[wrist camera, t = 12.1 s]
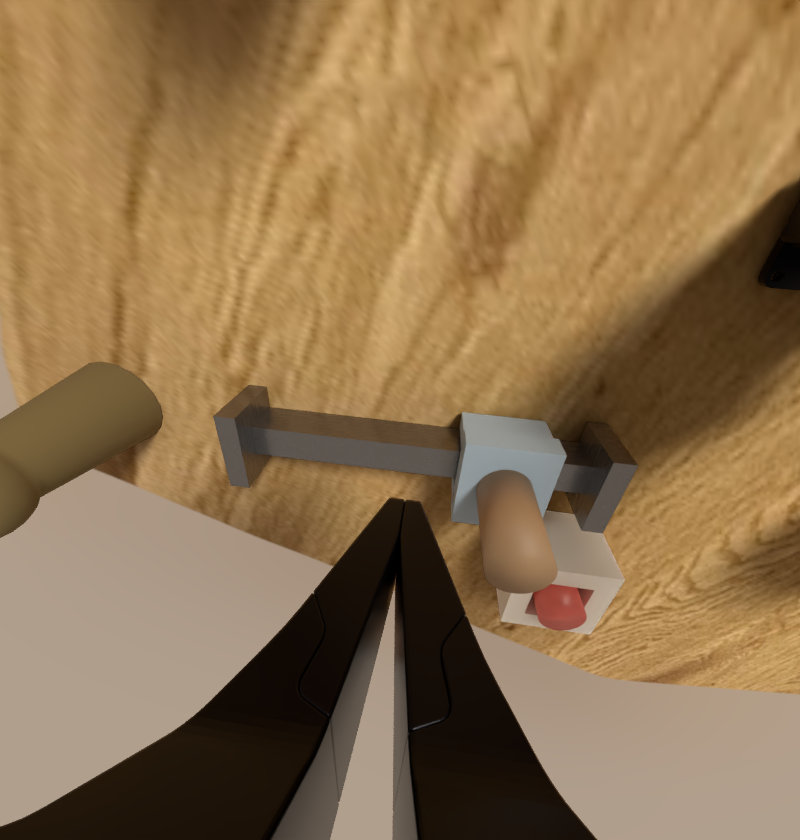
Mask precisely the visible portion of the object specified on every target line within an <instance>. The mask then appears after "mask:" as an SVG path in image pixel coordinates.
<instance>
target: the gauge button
mask: <svg viewBox="0 0 800 840" xmlns="http://www.w3.org/2000/svg"><path fill="white" fill-rule="evenodd" d="M533 597H534V602H535V606H536V611H537V616H538V620H539V622H540V623H541V624H542V625H543V626H545V627H547V628H549V629H553V630H571V629H575V628H577V627H579V626H581V625H583V624H584V623H585V621H586V619H587V615H586V612H585V609H584V606H583V603H582V600H581V597H580V594H579V591H578V588H575V587H568V586H561V585H554V584H550V585H549V586H548V587H546V588H544V589H542V590H540V591H536V592H533Z"/></svg>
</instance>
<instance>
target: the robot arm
mask: <svg viewBox="0 0 800 840" xmlns="http://www.w3.org/2000/svg"><path fill="white" fill-rule="evenodd" d="M776 271H778V274H777V276H776V277H775V278H774V279H772V280H771V277H772V275H773V274H774V273H775V272H776ZM758 283H759V284H760V285H762V286H765V287H770V288H779V289H791V290H800V201H799V203H798V205H797V206H796V208H795V210H794V212H793V214H792V215H791V217H790V219H789V221H788V223H787V224H786V226H785V228H784V230H783V232H782V233H781V236H780V238H779V239H778V241H777V243H776V245H775V247H774V248H773V250H772V252H771V254H770V256H769V257H768V259H767V261H766V263H765V265H764V266H763V268H762V270H761V272H760V274H759V276H758ZM395 579H396V584H395ZM394 585H395V654H394V655H395V656H394V657H395V658H394V755H393V756H394V757H393V758H394V759H393V763H394V764H393V840H597V839H596V838H595V837H594V835H593V834H592V833H591V832H590V831H589V829H588V828H587V827H586V826H585V825H584V823H583V822H582V821H581V820H580V819H579V817H578V816H577V815H576V814H575V813H574V812H573V811H572V809H571V808H570V807H569V805H568V804H567V803H566V802H565V800H564V799H563V798H562V796H561V795H560V794H559V792H558V791H557V789H556V788H555V786H554V785H553V783H552V782H551V780H550V779H549V777H548V776H547V774H546V772H545V771H544V769H543V767H542V765H541V764H540V762H539V760H538V758H537V757H536V755H535V753H534V751H533V749H532V747H531V745H530V743H529V742H528V740H527V738H526V736H525V734H524V732H523V730H522V728H521V727H520V725H519V723H518V721H517V719H516V717H515V715H514V714H513V712H512V710H511V708H510V706H509V704H508V702H507V701H506V699H505V697H504V695H503V693H502V691H501V689H500V687H499V685H498V684H497V682H496V680H495V678H494V676H493V674H492V672H491V670H490V668H489V666H488V664H487V662H486V660H485V658H484V655H483V653H482V651H481V649H480V646H479V644H478V642H477V639H476V637H475V635H474V632H473V630H472V627H471V625H470V623H469V620H468V618H467V617H466V616H465V615H466V613H465V611H464V608H463V606H462V603H461V601H460V598H459V596H458V593H457V591H456V588H455V586H454V583H453V581H452V578H451V576H450V573H449V571H448V568H447V566H446V563H445V561H444V558H443V556H442V553H441V551H440V548H439V546H438V543H437V541H436V538H435V536H434V533H433V531H432V528H431V526H430V523H429V521H428V518H427V516H426V513H425V511H424V508H423V506H422V504H421V502H420V501H414V500H406V501H404V500H403V499H398V498H389V499H388V500H387V501H386V503H385V504H384V505H383V506H382V508H381V509H380V510H379V511H378V512H377V514H376V515H375V516H374V517H373V519H372V520H371V521H370V522H369V524H368V525H367V526H366V527H365V529H364V530H363V531H362V532H361V533H360V535H359V536H358V537H357V538H356V540H355V541H354V542H353V543H352V545H351V546H350V547H349V548H348V550H347V551H346V552H345V553H344V554H343V556H342V557H341V558H340V559H339V561H338V562H337V563H336V564H335V566H334V567H333V568H332V569H331V571H330V572H329V573H328V574H327V576H326V577H325V578H324V579H323V580H322V582H321V583H320V584H319V585H318V587H317V588H316V589H315V590H314V594H311V595H310V596H309V598H308V599H307V600H306V601H305V602H304V604H303V605H302V606H301V608H300V609H299V610H298V611H297V612H296V613H295V614H294V615H293V617H292V618H291V619H290V620H289V621H288V623H287V624H286V625H285V626H284V627H283V628H282V629H281V630H280V631H279V632H278V633H277V634H276V635H275V636H274V637H273V639H272V640H271V641H270V642H269V643H268V644H267V645H266V646H265V647H264V648H263V649H262V650H261V651H260V652H259V653H258V654H257V655H256V656H255V657H254V658H253V659H252V660H251V661H250V662H249V663H248V664H247V665H246V666H245V667H244V668H243V669H242V670H241V671H240V672H239V673H238V674H237V675H236V676H235V677H234V678H233V679H232V680H231V681H230V682H229V683H228V684H227V685H226V686H225V687H224V688H223V689H222V690H221V691H220V692H219V693H218V694H217V695H216V696H215V697H214V698H213V699H212V700H211V701H210V702H209V703H208V704H206V705H205V707H204V708H202V709H201V710H200V711H199V712H198V713H196V714H195V715H194V716H193V717H192V718H190V719H189V720H188V721H186V722H185V723H184V724H183V725H181V726H180V727H178V728H177V729H175V730H174V731H172V732H171V733H169V734H168V735H166V736H164V737H163V738H161V739H159V740H158V741H156V742H154V743H153V744H151V745H149V746H147V747H146V748H144V749H142V750H141V751H139V752H137V753H135V754H134V755H132V756H130V757H129V758H127V759H125V760H123V761H122V762H120V763H118V764H117V765H115V766H113V767H112V768H110V769H108V770H107V771H105V772H103V773H101V774H100V775H98V776H96V777H95V778H93V779H91V780H89V781H88V782H86V783H84V784H83V785H81V786H79V787H78V788H76V789H74V790H72V791H71V792H69V793H67V794H66V795H64V796H62V797H61V798H59V799H57V800H56V801H54V802H52V803H50V804H49V805H47V806H45V807H43V808H41V809H40V810H38V811H36V812H34V813H32V814H30V815H28V816H26V817H24V818H22V819H19V820H17V821H14V822H12V823H9V824H7V825H4V826H1V827H0V840H330V837H331V833H332V829H333V825H334V821H335V817H336V814H337V810H338V805H339V804H338V802H339V801H340V797H341V794H342V790H343V786H344V782H345V778H346V774H347V770H348V766H349V762H350V758H351V754H352V751H353V746H354V743H355V739H356V735H357V731H358V727H359V723H360V719H361V715H362V711H363V707H364V703H365V699H366V696H367V692H368V688H369V684H370V679H371V676H372V672H373V668H374V664H375V660H376V656H377V652H378V648H379V644H380V641H381V637H382V633H383V629H384V625H385V621H386V617H387V613H388V609H389V605H390V601H391V598H392V594H393V589H394Z"/></svg>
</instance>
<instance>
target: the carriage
mask: <svg viewBox="0 0 800 840" xmlns="http://www.w3.org/2000/svg"><path fill="white" fill-rule="evenodd" d="M460 438H461V452H460V458H459V463H458V468H457V474H456V478H452V501H451V521H453V522H460V523H468V524H475V525H479V528H480V538H481V548H482V558H483V568H484V575H485V578H486V580H487V581H488V582H489V583H490V584H491V585H492V586H494V587H495V588H497V589H499V590H502V591H505V592H508V593H515V594H526V593H532V592H536V591H540V590H542V589H544V588H546V587H548V586H549V585H550V584H551V583H553V581H554V580H555V579H556V577H557V573H558V568H557V565H556V561H555V558H554V555H553V552H552V548H551V545H550V542H549V539H548V535H547V532H546V529H545V525H544V522H543V516H544V514H545V511H546V509H547V506H548V503H549V501H550V498H551V496H552V493H553V490H554V488H555V485H556V483H557V480H558V477H559V475H560V472H561V470H562V467H563V464H564V462H565V459H566V457H567V455H566V453H565V451H564V449H563V447H562V445H561V443H560V440H559V439H555V438H553V436H552V434H551V432H550V430H549V427H548V425H547V423H546V421H539V420H530V419H521V418H511V417H502V416H493V415H484V414H475V413H466V412H462V416H461V422H460Z"/></svg>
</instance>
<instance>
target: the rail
mask: <svg viewBox="0 0 800 840" xmlns="http://www.w3.org/2000/svg"><path fill="white" fill-rule="evenodd" d="M213 417H214V421H215V425H216V429H217V433H218V437H219V441H220V445H221V449H222V453H223V457H224V461H225V464H226V468H227V472H228V476H229V480H230V484H231V485H233V486H240V487H248V488H249V487H250V486H251V485H252V483H253V482H254V480H255V479H256V478H257V476H258V475H259V473H260V472H261V471H262V469H263V468H264V466H265V465H266V464H267V462H268V461H269V459H270V458H271V457H272V456H279V457H287V458H295V459H303V460H311V461H319V462H328V463H336V464H344V465H352V466H360V467H368V468H376V469H385V470H393V471H401V472H409V473H417V474H425V475H433V476H441V477H450V478H456V474H457V468H458V463H459V458H460V452H461V438H460V429H457V428H448V427H439V426H431V425H422V424H413V423H404V422H395V421H386V420H378V419H369V418H360V417H351V416H342V415H333V414H325V413H316V412H307V411H298V410H289V409H280V408H272V407H270V406H269V399H268V393H267V387H263V386H253V385H248V386H247V387H246V388H245V389H244V390H242V391H241V392H240V393H239V394H238V395H237V396H236V397H234V398H233V399H232V400H231V401H230V402H229V403H228V404H227V405H225V406H224V407H223V408H222V409H221V410H220V411H219V412H218V413H216V414H215V415H214V416H213ZM560 443H561V445H562V447H563V449H564V451H565V453H566V455H567V457H566V459H565V462H564V464H563V467H562V470H561V472H560V475H559V477H558V480H557V483H556V485H555V488H554V490H555V491H564V492H565V493H566V495H567V498H568V500H569V502H570V505H571V507H572V510H573V512H574V515H575V517H576V519H577V522H578V524H579V527H580V529H581V531H587V532H595V533H602V534H603V532H604V530H605V528H606V526H607V524H608V522H609V520H610V518H611V517H612V515H613V513H614V511H615V509H616V507H617V505H618V503H619V501H620V499H621V498H622V496H623V494H624V492H625V490H626V488H627V486H628V484H629V482H630V481H631V479H632V477H633V475H634V473H635V471H636V469H637V467H638V465H637V463H636V462H635V460H634V459H633V458H632V456H631V455H630V454H629V452H628V451H627V450H626V448H625V447H624V446H623V444H622V443H621V442H620V440H619V439H618V438H617V436H616V435H615V433H614V432H613V431H612V429H611V428H610V427H609V425H608V424H602V423H592V422H587V423H586V426H585V428H584V431H583V433H582V436H581V438H580V441H579V442H572V441H563V440H560Z"/></svg>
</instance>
